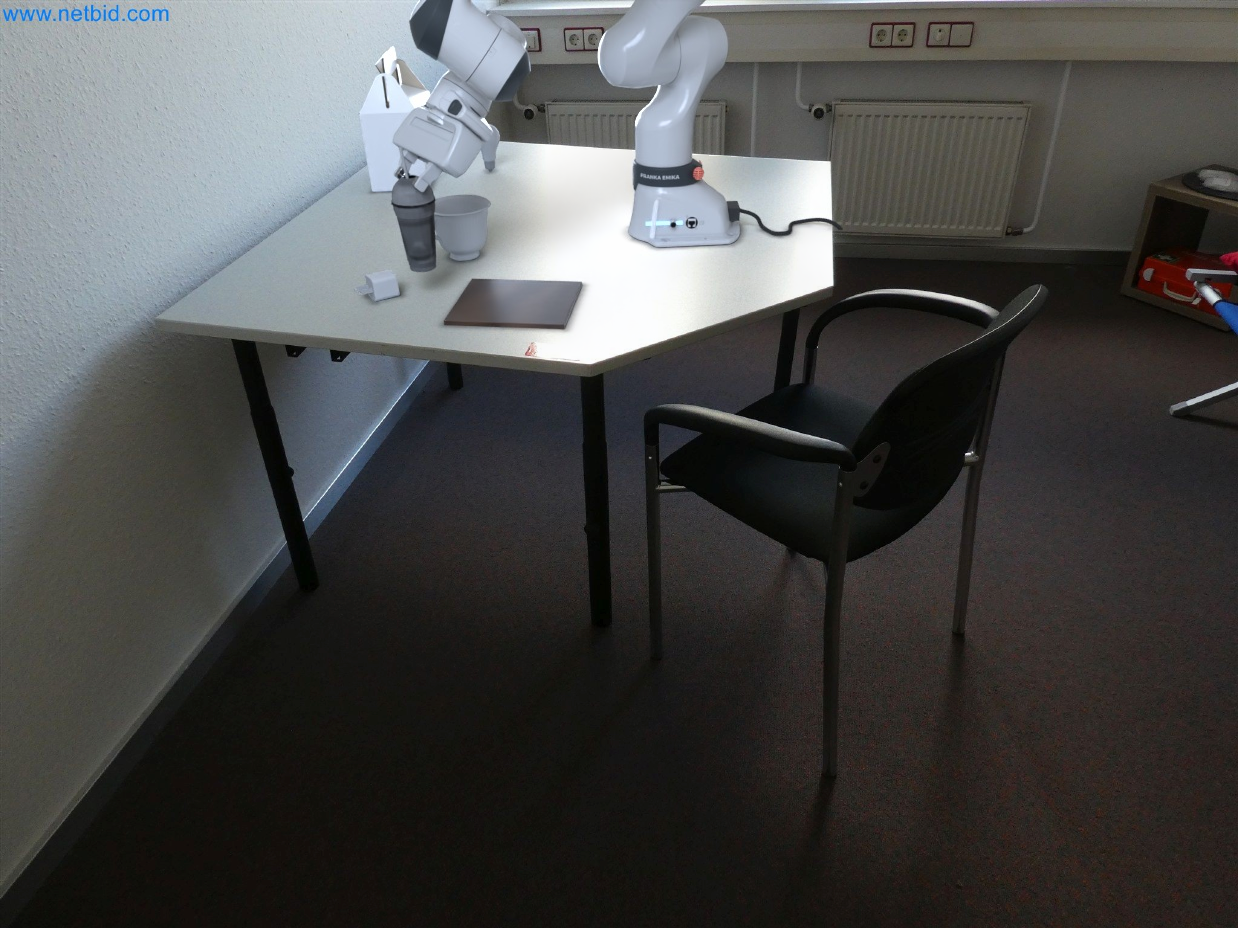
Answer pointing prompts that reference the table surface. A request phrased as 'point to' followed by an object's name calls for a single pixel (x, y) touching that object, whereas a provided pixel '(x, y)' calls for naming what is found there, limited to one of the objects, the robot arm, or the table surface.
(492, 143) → the lightbulb
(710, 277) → the table surface
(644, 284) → the table surface
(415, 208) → the beverage cup
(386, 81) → the gable box
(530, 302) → the mat
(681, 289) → the table surface
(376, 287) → the usb wall charger
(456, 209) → the teacup
